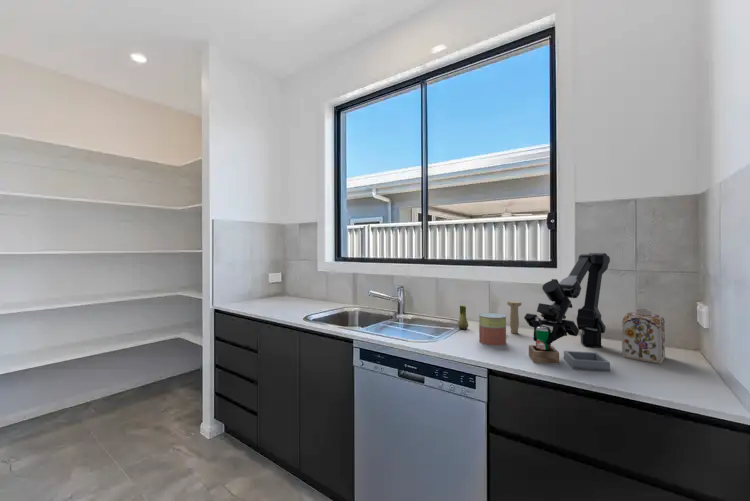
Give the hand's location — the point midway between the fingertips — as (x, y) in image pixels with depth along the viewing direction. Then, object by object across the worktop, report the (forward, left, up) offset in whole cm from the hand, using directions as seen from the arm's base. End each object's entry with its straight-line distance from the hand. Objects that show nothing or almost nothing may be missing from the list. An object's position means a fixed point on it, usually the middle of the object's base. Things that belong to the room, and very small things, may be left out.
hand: (540, 342), depth 126 cm
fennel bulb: (+27, -45, -7) cm, 53 cm away
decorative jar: (-38, -12, -7) cm, 41 cm away
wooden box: (-1, -1, -7) cm, 7 cm away
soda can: (-1, -1, -7) cm, 7 cm away
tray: (-14, +2, -7) cm, 16 cm away
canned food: (+15, -21, -7) cm, 27 cm away
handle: (+3, -41, -7) cm, 42 cm away
